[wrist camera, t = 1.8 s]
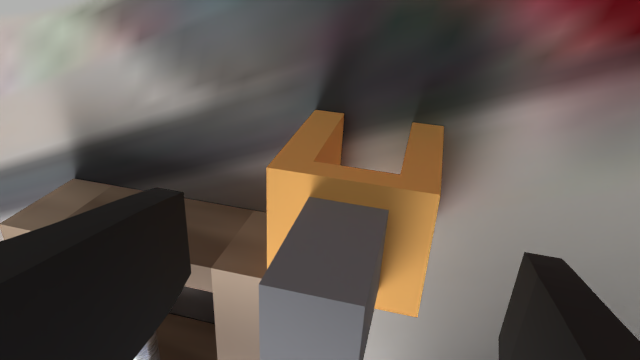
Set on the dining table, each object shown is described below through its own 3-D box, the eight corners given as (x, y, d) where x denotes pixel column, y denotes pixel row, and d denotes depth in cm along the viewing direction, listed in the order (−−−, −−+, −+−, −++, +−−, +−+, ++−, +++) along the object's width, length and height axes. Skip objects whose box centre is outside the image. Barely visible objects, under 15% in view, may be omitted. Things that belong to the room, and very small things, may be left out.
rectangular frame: (296, 359, 17) (257, 458, 14) (102, 313, 19) (27, 391, 15) (300, 219, 14) (254, 300, 11) (73, 178, 16) (-27, 239, 13)
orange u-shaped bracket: (426, 225, 13) (405, 436, 8) (311, 205, 14) (212, 385, 8) (443, 126, 12) (435, 291, 6) (315, 109, 13) (200, 245, 7)
